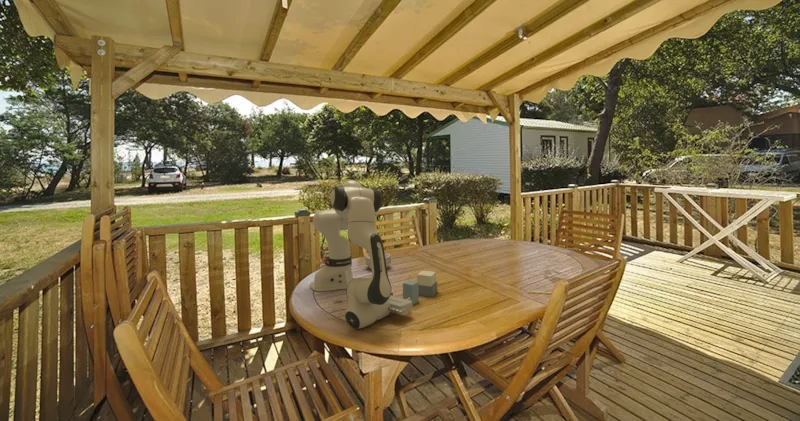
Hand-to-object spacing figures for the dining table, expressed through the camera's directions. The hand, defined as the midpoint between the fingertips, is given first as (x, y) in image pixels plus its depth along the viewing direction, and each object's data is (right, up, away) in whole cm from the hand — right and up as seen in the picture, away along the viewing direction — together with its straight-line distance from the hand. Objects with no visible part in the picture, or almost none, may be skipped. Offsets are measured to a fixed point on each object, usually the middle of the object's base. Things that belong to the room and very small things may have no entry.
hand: (400, 296), depth 156 cm
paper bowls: (-13, +2, +60) cm, 62 cm away
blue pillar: (+5, -4, +6) cm, 9 cm away
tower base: (+13, -3, +18) cm, 22 cm away
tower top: (+13, +2, +17) cm, 21 cm away
